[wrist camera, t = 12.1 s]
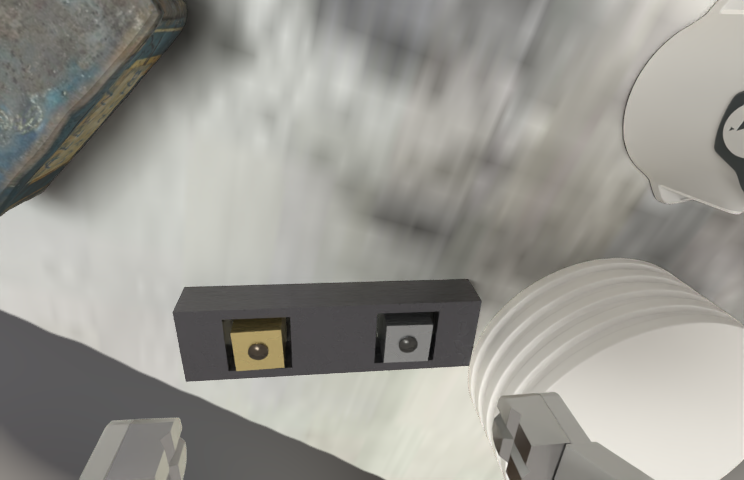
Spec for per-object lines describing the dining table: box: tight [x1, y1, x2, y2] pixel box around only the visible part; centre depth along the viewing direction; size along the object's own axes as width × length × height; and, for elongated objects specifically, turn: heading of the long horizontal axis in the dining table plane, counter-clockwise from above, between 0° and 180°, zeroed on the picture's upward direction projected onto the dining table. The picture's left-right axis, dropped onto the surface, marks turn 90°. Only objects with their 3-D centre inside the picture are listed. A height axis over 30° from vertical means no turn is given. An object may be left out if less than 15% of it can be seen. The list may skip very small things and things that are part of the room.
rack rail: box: [173, 279, 481, 382], centre depth 43 cm, size 28×8×4 cm, turn 87°
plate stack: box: [468, 258, 744, 480], centre depth 48 cm, size 28×28×12 cm
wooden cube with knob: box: [230, 317, 287, 371], centre depth 42 cm, size 4×4×5 cm
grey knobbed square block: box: [377, 312, 433, 363], centre depth 44 cm, size 4×4×5 cm
